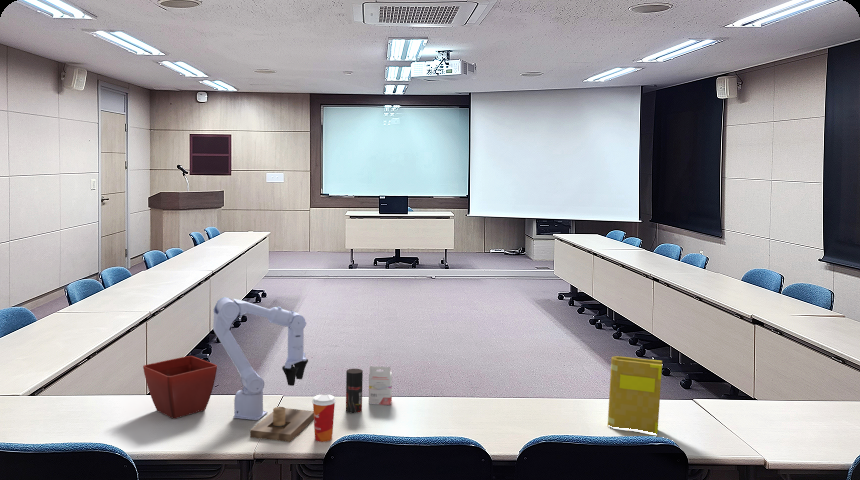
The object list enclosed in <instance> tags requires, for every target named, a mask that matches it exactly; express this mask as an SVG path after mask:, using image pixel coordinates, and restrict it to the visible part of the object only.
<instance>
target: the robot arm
mask: <svg viewBox="0 0 860 480" xmlns="http://www.w3.org/2000/svg"><path fill="white" fill-rule="evenodd" d="M245 314H250V315H253V316H257V317H258V316H259V317H263V318H266V319H267V321H268V322H269V323H271V324H275V325H278V326H282V327H285V328H287V358H286V360H285V361H286V362H285V363H284V365H283V366H281V370H282V372H283V373H284V375H285V378H286V382H287V386H289V387H290V386H291V387H292V386H293V387H294V386H295V384H296V380H303V379H304V373H305V370H306V366H307V364H308V363H309V359H308V358H307V357H306V352H304V346H305V344H304V341H305V339H304V336H305V335H304V332H305V331H304V329H305V327H306V326H307V322H306V318H305V317H304V316H303V315H301V314H300V313H298V312H296V311H294V310H287V309H283V308H282V307H281V306H277V307H276V306H273V307H271V308H268V307H264V306H260V305H259V304H254V303H251V302H248V301H245V300H241V299H238V298H232V299H231V298H230V297H228V296H226V297H221V298H220V299H218V300H217V301H216V303H215V306H214V307H213V324H212V325H213V326H212V329H213V331H214V334H215V336H217V338H218V340H219V343H221V345H222V346H223V349H224V350H225V352H226V353H227V355H228V356H229V358H230V360H231V361H232V363H233V365H234V366H235V368H236V369H237V371H238V372H237V373H238V374H239V376H240V382H241V385H243V387H242V389H240V390H237V392H236V393H235V396H234V399H233V402H234V406H233V407H234V411H233V412H234V414H233V416H232V417H233V419H241V420H251V421H259V420H261V419H262V418H263V417H264V416H265V415H267V414H268V411H267V410H266V411H265V410H264V388H265V380H264V379H263V377H261V376H260V375H259V373H258V372H257V371H256V370H254V368H253V367H252V365H251V364H250V362H249V360H248V358H247V356H245V354H244V351H243V350H242V348H241V347H240V345H239V343H238V341H237V340H236V339H235V337H234V335H233V333H232V332H231V330H230V328H231V326H232V324H233V322H234V321H235V320H236V319H237V317H238V316H240V317H241V316H244V315H245Z"/></svg>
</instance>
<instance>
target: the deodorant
mask: <svg viewBox="0 0 860 480" xmlns="http://www.w3.org/2000/svg"><path fill="white" fill-rule="evenodd" d="M363 371H364V370H363V369H361V368H349V369H347V370H346V373H345V374H346V375H345V376H346V377H345V378H346V379H345V380H346V381H345V382H346V383H345V385H346V386H345V412H346V413H348V414H359V413H361V412H362V411H363V382H364V381H363V377H364V375H363Z"/></svg>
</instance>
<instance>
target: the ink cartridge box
mask: <svg viewBox="0 0 860 480" xmlns="http://www.w3.org/2000/svg"><path fill="white" fill-rule="evenodd" d="M391 369H392V368H391V366H371V365H370V366H369V374H368V404H369V405H382V406H383V405H384V406H385V405H388V406H389V405H392V404H391V403H392V399H393V397H392V396H393V395H392V394H393V372H392V371H391ZM377 370H378V371H377ZM379 370H381V371H379Z"/></svg>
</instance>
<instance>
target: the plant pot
mask: <svg viewBox="0 0 860 480" xmlns="http://www.w3.org/2000/svg"><path fill="white" fill-rule="evenodd" d="M142 368H143V373H144V378H145V381H146V386H147V389H148V391H149V395H150V398H151V400H152V402H153V404H154V406H155V407H154V408H155V409H156V411H157V412H159V413H160V414H163V415H165V416H167V417H169V418H171V419H177V418H181V417H184V416H188V415H192V414H197V413H199V412H200V413H201V412H203V411H206V409H207V407H208V404H209V401H210V398H211V396H212V393H213V388H214V385H215V382H216V376H217V370H218V369H217V368H218V365H217V364H215V363H212V362H209V361H208V360H205V359H201V358H199V357H196V356H194V355H188V356H180V357H178V358H177V357H176V358H171V359H167V360H162V361H158V362H153V363H148V364H144V365H143V367H142Z"/></svg>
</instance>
